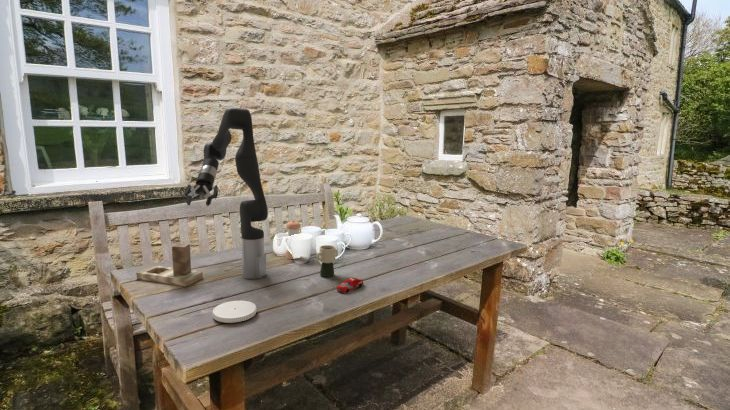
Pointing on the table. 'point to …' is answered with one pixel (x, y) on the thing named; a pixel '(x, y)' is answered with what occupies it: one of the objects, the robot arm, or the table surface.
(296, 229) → the pepper shaker
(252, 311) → the plastic lid
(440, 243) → the table surface
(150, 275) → the puzzle board
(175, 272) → the walnut block
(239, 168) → the robot arm
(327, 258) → the character mug
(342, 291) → the race car
